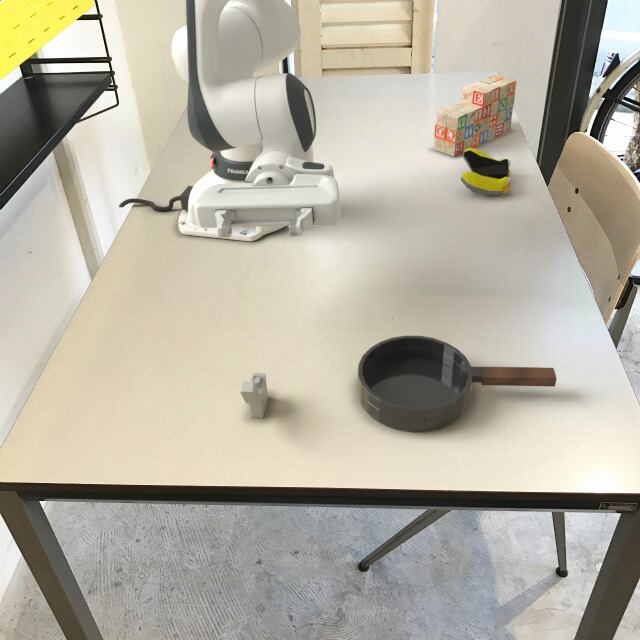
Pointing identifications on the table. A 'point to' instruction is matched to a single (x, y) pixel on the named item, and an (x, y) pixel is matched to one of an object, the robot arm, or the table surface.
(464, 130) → the stack of blocks
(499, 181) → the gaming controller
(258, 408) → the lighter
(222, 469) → the table surface
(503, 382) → the pan handle
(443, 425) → the pan
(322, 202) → the robot arm
